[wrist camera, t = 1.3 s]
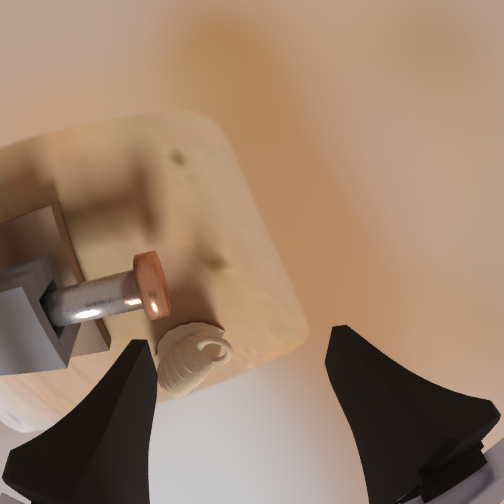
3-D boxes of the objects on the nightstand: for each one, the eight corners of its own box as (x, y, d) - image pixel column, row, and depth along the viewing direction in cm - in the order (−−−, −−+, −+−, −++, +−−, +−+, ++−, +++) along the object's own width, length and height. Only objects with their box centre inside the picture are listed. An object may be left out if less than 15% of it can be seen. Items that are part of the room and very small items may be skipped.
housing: (23, 354, 19) (3, 402, 13) (-33, 239, 14) (-75, 271, 8) (111, 339, 21) (102, 396, 15) (58, 201, 16) (17, 229, 11)
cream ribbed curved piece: (142, 356, 23) (141, 402, 18) (204, 295, 22) (215, 337, 17) (177, 376, 25) (183, 420, 20) (238, 320, 24) (257, 362, 19)
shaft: (41, 323, 17) (25, 356, 13) (19, 278, 15) (-4, 306, 12) (170, 294, 19) (172, 329, 16) (154, 241, 17) (151, 267, 14)
